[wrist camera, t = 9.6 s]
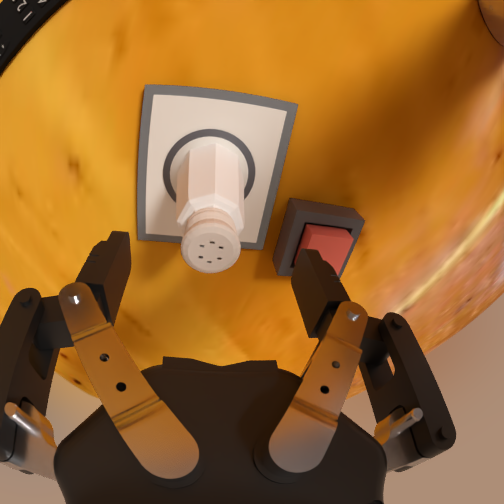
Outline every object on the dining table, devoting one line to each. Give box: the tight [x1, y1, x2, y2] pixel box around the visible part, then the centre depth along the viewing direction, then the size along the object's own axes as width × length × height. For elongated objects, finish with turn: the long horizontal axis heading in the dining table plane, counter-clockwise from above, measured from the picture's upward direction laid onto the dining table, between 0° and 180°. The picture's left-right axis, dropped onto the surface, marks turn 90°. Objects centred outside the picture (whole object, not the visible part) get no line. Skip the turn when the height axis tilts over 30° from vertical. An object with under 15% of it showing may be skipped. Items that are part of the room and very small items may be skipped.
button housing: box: [273, 198, 365, 279], centre depth 26 cm, size 7×7×2 cm
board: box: [137, 85, 298, 250], centre depth 22 cm, size 12×14×1 cm
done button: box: [294, 224, 354, 276], centre depth 25 cm, size 4×4×2 cm
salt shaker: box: [176, 143, 244, 273], centre depth 17 cm, size 5×5×11 cm
